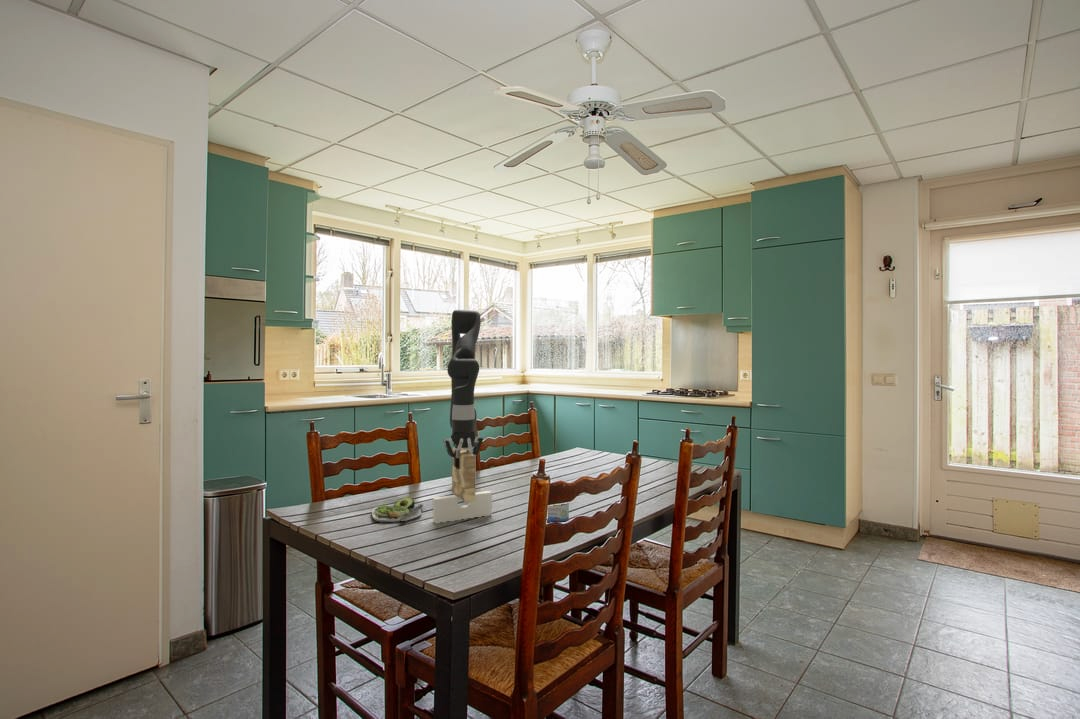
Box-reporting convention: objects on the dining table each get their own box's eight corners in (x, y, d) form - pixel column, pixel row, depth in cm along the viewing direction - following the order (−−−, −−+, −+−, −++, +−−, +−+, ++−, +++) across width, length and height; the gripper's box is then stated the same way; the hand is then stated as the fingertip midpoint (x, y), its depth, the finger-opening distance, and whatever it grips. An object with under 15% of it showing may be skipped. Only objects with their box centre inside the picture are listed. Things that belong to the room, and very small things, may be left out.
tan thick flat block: (451, 491, 190) (452, 449, 190) (461, 490, 192) (461, 448, 191) (465, 502, 178) (465, 456, 177) (475, 500, 179) (475, 455, 179)
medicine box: (545, 522, 181) (546, 496, 181) (543, 518, 186) (543, 493, 185) (569, 521, 182) (569, 495, 182) (566, 517, 187) (566, 492, 187)
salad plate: (427, 523, 180) (427, 510, 180) (371, 528, 175) (371, 514, 175) (422, 507, 199) (422, 494, 199) (371, 510, 194) (371, 498, 193)
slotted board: (433, 521, 181) (433, 497, 181) (489, 513, 190) (489, 490, 190) (435, 523, 179) (435, 499, 179) (491, 515, 188) (491, 492, 188)
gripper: (479, 415, 191) (478, 464, 191) (439, 417, 184) (439, 467, 184) (486, 417, 184) (486, 468, 184) (446, 420, 177) (446, 472, 178)
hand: (463, 467), depth 184 cm, fingers closed on tan thick flat block, 3 cm apart
